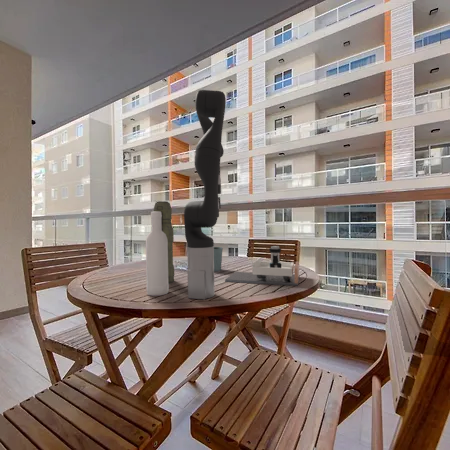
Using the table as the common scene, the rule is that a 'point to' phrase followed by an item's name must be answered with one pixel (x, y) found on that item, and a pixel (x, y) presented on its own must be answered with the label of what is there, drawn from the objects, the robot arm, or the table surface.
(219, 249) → the drinking glass
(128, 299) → the table surface
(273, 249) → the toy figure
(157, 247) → the bottle
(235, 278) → the grey piece
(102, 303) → the table surface
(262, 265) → the cart
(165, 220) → the thermos
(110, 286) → the table surface
